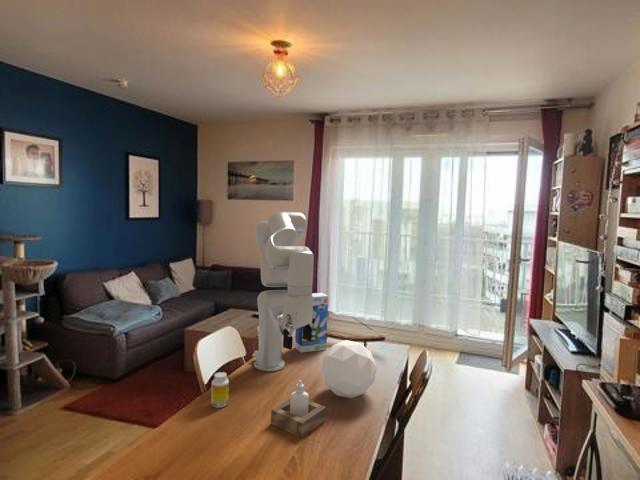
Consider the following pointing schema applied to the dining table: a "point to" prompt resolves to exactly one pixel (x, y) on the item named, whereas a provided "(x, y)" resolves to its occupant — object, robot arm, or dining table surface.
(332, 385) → the geometric orb
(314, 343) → the string lights box
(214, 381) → the supplement bottle
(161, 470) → the dining table surface
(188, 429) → the dining table surface
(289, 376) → the dining table surface
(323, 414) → the socket block
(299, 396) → the eye dropper bottle
